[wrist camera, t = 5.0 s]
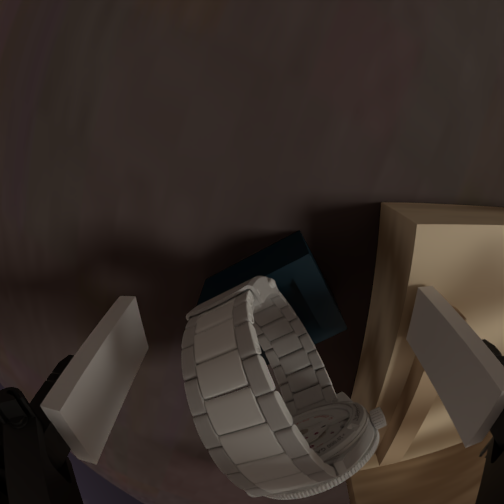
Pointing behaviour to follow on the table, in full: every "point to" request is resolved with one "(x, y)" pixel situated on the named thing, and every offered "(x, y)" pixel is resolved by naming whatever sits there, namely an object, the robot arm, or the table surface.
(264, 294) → the watch
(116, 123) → the table surface
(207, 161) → the table surface
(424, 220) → the display stand
